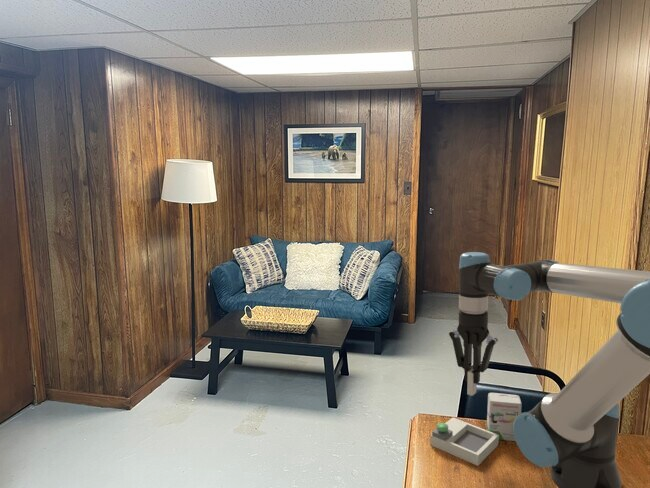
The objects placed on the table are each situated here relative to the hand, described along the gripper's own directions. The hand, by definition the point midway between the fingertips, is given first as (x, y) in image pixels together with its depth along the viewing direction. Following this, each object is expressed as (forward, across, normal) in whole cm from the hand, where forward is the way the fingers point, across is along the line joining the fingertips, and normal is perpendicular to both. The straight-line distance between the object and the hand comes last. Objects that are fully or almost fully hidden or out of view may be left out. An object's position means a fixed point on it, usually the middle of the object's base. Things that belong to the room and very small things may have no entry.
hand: (471, 393), depth 131 cm
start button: (+11, +6, +6) cm, 14 cm away
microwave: (+15, +1, +2) cm, 15 cm away
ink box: (+15, -6, -9) cm, 19 cm away
